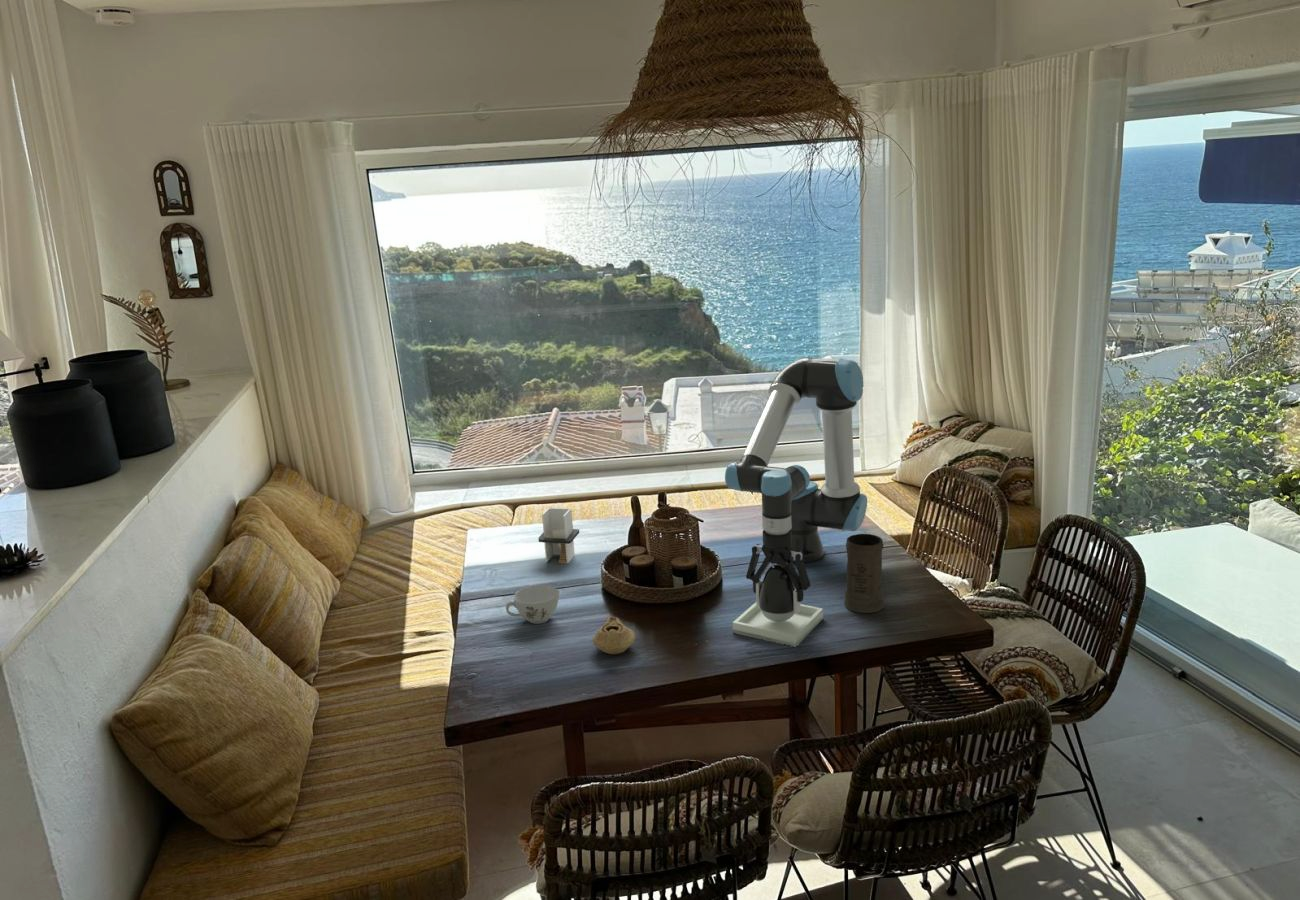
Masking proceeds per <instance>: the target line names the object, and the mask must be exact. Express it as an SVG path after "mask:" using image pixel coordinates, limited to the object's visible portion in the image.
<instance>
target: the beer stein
mask: <svg viewBox="0 0 1300 900" xmlns="http://www.w3.org/2000/svg"><path fill="white" fill-rule="evenodd" d="M845 548H846V555H847V556H846V557H847V562H846V589H845V591H844V596H845V598H844V601H843V604H844V607H845V608H846V609H848V610H849V611H852V612H854V613H859V614H872V613H876V612H877V613H878V612H879V611H881V610H883V608H884V606H885V602H884V599H883V597H884V591H883V575H882V574H883V570H882V569H883V568H882V567H883V561H882V560H883V559H882V558H883V549H884V541H883V539H882V538H881V537H880V536H878V535H875V534H870V533H858V534H853V535H850V536H848V537H847V539H846V542H845Z"/></svg>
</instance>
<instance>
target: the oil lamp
mask: <svg viewBox="0 0 1300 900" xmlns="http://www.w3.org/2000/svg"><path fill="white" fill-rule="evenodd" d="M636 639H637V638H636V634H635V633H634V631H633V630H632V629H631V628H629V627H628V626H626V625H625V624H623V622H622V621H621V620H620V619H619V618H618V617H616V616H615V617H614V616H609V617H607V619H606V622H605V623H604V624H603V625H602V626H601V627H600V628H599V630H598V631H597V632H596V633H595V634H594V636H593V640H592V642H593V645H594V646H595V647H596V648H597V649H598V650H600V651H602V652H604V653H606V654H608V655H618V654H622V653H624V652H625V651H626V650H627V649H629V648H630V647H631V646H633V645H634V643H635V641H636Z"/></svg>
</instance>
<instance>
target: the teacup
mask: <svg viewBox="0 0 1300 900" xmlns="http://www.w3.org/2000/svg"><path fill="white" fill-rule="evenodd" d="M559 597H560V590H559V589H557V588H556V587H554V586H550V585H545V584H544V585H543V584H534V585H529V586H526V587H523V588H520V589H519V590H517V591H516V592H515V593H514V595H513V600H514V601H508V602H507V603H506V605H505V610H506V613H507V614H508V615H509V616H511V617H522V618H523V619H525V620H526V621H528V622H529V623H531V624H536V625H538V624H540V625H541V624H544V623H547V621H549V620H550V618H551V617H552V616H553V615H554V613H555V611H556V609H557V607H558V603H559ZM512 606H513V607H514V609H516V610H517V611H518V613H515V612H511V611H510V609H509V608H510V607H512Z"/></svg>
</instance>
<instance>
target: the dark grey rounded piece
mask: <svg viewBox="0 0 1300 900" xmlns="http://www.w3.org/2000/svg"><path fill="white" fill-rule="evenodd" d="M762 580H763V582H762V586H761V590H760V596H759V607H760V608H761V611H762V613H763V615H764V616H765V617H766V618H767V619H769V620H771V621H776V622H782V621H786V620H788V619H790V618H791V617H792V616H793V615H794V599H793V591H794V590H795V589H796V588H795V586H794V585H793V583H792V581H791V579H790V577H789V575H788V573H787V572H786V570H785V569H784V568H783V566H782V565H778V564H772V565H770V566H769V568H768V569H767V570H766V572H765V574H764V576H763V579H762Z"/></svg>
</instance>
